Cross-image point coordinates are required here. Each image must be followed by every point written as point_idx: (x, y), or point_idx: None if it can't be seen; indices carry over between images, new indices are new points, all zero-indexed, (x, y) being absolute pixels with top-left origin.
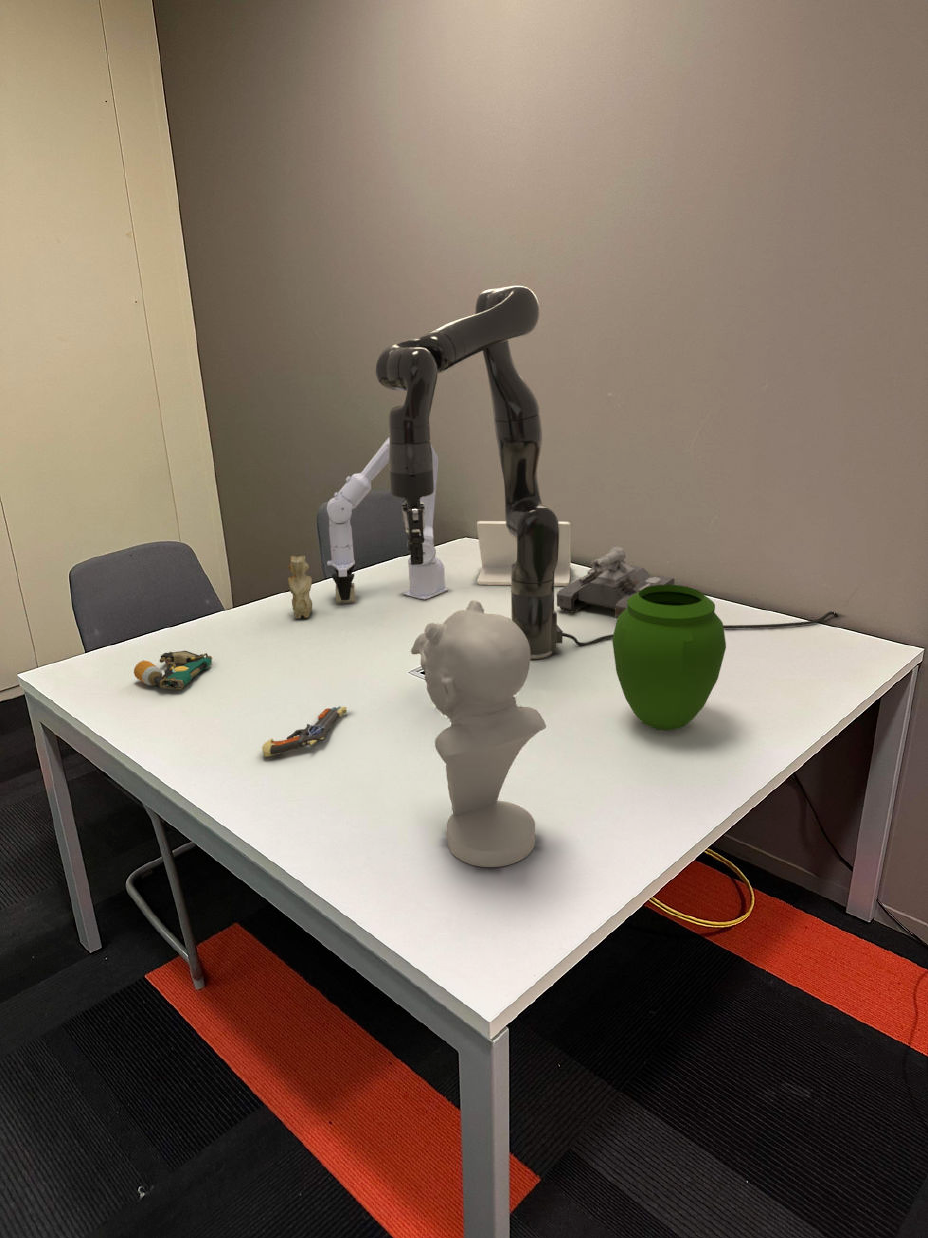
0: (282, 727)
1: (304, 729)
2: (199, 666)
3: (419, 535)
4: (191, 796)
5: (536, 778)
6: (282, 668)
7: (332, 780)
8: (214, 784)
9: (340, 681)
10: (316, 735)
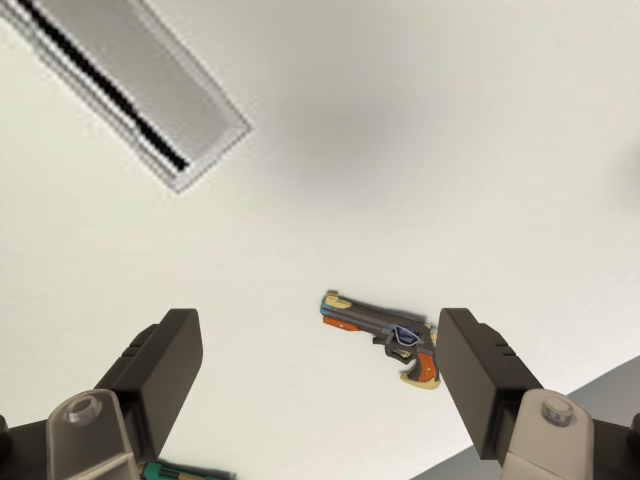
0: (350, 365)
1: (389, 346)
2: (169, 476)
3: (157, 365)
4: None
5: (618, 7)
6: None
7: (508, 304)
8: None
9: (209, 300)
10: (424, 334)
